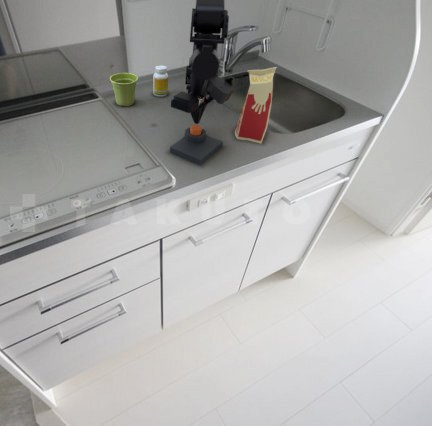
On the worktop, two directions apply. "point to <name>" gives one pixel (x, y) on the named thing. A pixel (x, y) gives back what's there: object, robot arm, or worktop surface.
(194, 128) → the button
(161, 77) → the supplement bottle
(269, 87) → the red snack bag
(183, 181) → the worktop surface
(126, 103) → the plant pot
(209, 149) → the scale
